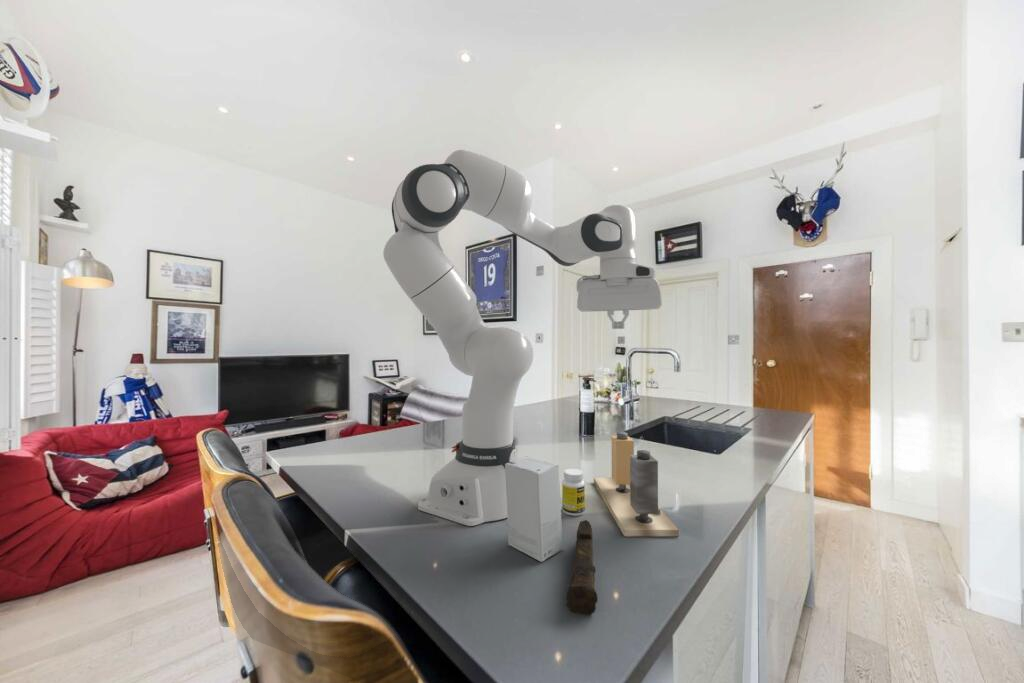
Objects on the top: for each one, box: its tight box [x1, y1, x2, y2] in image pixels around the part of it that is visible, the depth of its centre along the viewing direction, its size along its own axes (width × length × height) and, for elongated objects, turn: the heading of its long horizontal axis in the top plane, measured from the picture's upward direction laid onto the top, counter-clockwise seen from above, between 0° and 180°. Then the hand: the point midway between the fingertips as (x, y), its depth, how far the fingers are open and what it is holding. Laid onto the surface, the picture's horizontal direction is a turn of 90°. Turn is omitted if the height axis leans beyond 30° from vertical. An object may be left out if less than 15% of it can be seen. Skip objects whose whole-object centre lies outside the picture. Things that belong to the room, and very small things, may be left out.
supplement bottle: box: [561, 468, 586, 517], centre depth 78 cm, size 5×5×8 cm
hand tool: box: [566, 519, 599, 615], centre depth 58 cm, size 19×4×5 cm, turn 165°
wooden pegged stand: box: [593, 449, 680, 537], centre depth 81 cm, size 10×26×14 cm, turn 0°
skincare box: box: [505, 456, 563, 563], centre depth 65 cm, size 8×6×15 cm
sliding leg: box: [610, 431, 635, 490], centre depth 86 cm, size 4×4×13 cm
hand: (618, 328), depth 92 cm, fingers closed
